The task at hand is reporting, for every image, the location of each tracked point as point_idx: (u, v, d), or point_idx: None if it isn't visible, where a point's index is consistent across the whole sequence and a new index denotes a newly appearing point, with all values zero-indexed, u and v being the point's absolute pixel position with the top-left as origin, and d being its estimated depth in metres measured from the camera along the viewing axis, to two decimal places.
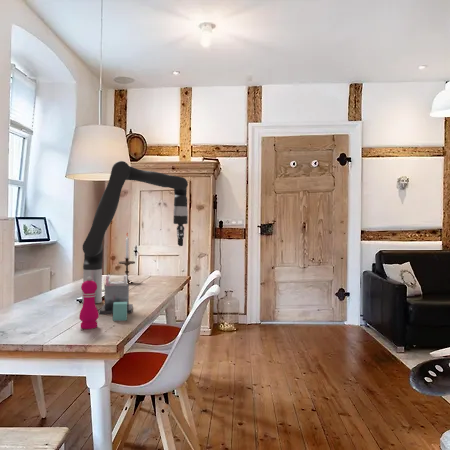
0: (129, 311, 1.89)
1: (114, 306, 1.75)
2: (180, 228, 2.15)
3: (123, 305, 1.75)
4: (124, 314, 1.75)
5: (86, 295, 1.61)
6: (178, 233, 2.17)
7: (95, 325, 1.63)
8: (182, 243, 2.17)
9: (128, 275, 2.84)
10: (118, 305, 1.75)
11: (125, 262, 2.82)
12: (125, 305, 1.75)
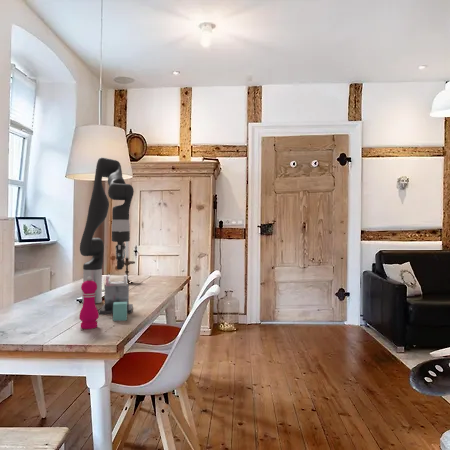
0: (129, 311, 1.89)
1: (114, 306, 1.75)
2: (118, 247, 1.70)
3: (123, 305, 1.75)
4: (124, 314, 1.75)
5: (86, 295, 1.61)
6: None
7: (95, 325, 1.63)
8: (121, 266, 1.73)
9: (128, 275, 2.84)
10: (118, 305, 1.75)
11: (125, 262, 2.82)
12: (125, 305, 1.75)
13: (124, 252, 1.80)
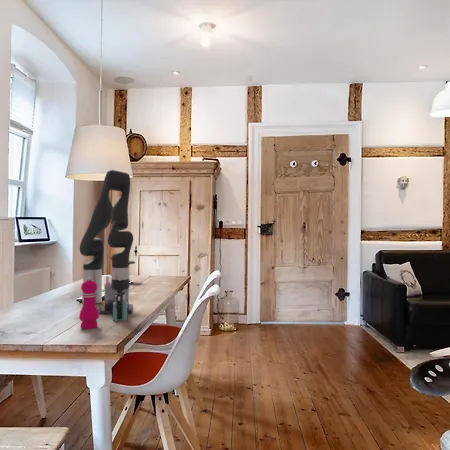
0: (129, 311, 1.89)
1: (114, 306, 1.75)
2: (118, 299, 1.71)
3: (123, 305, 1.75)
4: (124, 314, 1.75)
5: (86, 295, 1.61)
6: None
7: (95, 325, 1.63)
8: (121, 316, 1.74)
9: None
10: (118, 305, 1.75)
11: None
12: (125, 305, 1.75)
13: (124, 300, 1.79)
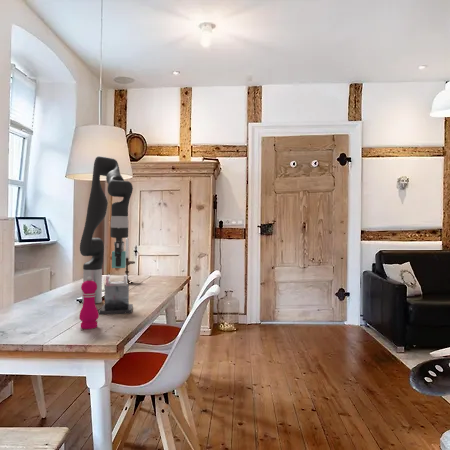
0: (129, 311, 1.89)
1: (113, 253, 1.77)
2: (116, 246, 1.74)
3: (122, 253, 1.78)
4: (123, 262, 1.78)
5: (86, 295, 1.61)
6: (115, 251, 1.77)
7: (95, 325, 1.63)
8: (120, 263, 1.77)
9: (128, 275, 2.84)
10: (117, 253, 1.78)
11: None
12: (124, 253, 1.78)
13: (122, 248, 1.82)
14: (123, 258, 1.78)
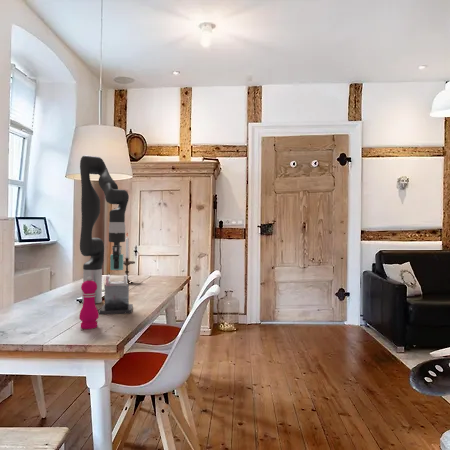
0: (129, 311, 1.89)
1: (111, 257, 1.92)
2: (114, 250, 1.88)
3: (119, 256, 1.92)
4: (120, 264, 1.92)
5: (86, 295, 1.61)
6: (113, 254, 1.91)
7: (95, 325, 1.63)
8: (118, 266, 1.92)
9: (128, 275, 2.84)
10: (115, 256, 1.92)
11: (125, 262, 2.82)
12: (121, 256, 1.93)
13: (120, 252, 1.96)
14: (121, 261, 1.92)
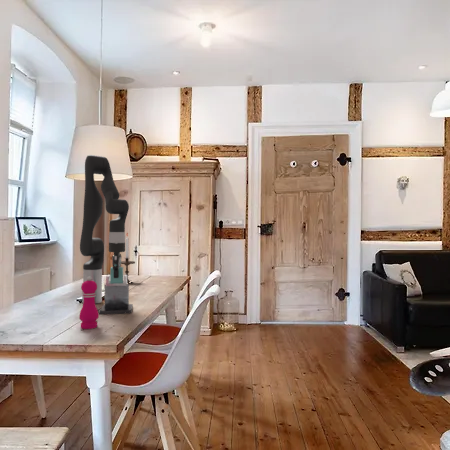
0: (129, 311, 1.89)
1: (111, 270, 1.92)
2: (114, 258, 1.88)
3: (119, 269, 1.92)
4: (120, 277, 1.93)
5: (86, 295, 1.61)
6: (113, 263, 1.91)
7: (95, 325, 1.63)
8: None
9: (128, 275, 2.84)
10: None
11: (125, 262, 2.82)
12: (121, 269, 1.93)
13: (120, 261, 1.97)
14: (121, 274, 1.93)
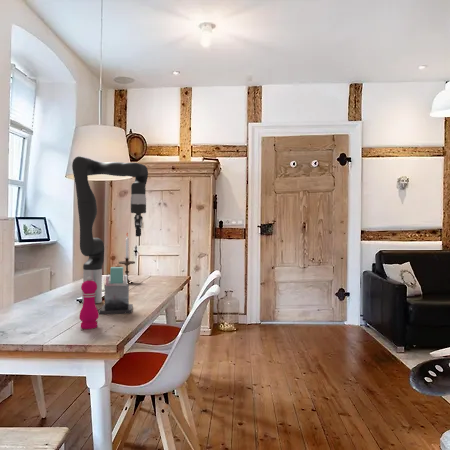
0: (129, 311, 1.89)
1: (111, 270, 1.92)
2: (136, 217, 2.00)
3: (119, 269, 1.92)
4: (120, 277, 1.93)
5: (86, 295, 1.61)
6: (135, 223, 2.02)
7: (95, 325, 1.63)
8: (139, 233, 2.02)
9: (128, 275, 2.84)
10: (115, 269, 1.92)
11: (125, 262, 2.82)
12: (121, 269, 1.93)
13: None
14: (121, 274, 1.93)
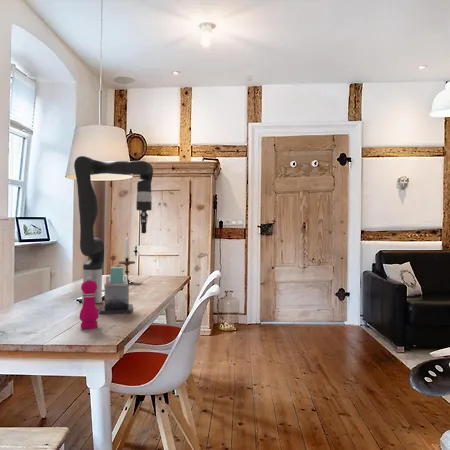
0: (129, 311, 1.89)
1: (111, 270, 1.92)
2: (142, 214, 2.03)
3: (119, 269, 1.92)
4: (120, 277, 1.93)
5: (86, 295, 1.61)
6: (141, 220, 2.06)
7: (95, 325, 1.63)
8: (145, 230, 2.06)
9: (128, 275, 2.84)
10: (115, 269, 1.92)
11: (125, 262, 2.82)
12: (121, 269, 1.93)
13: None
14: (121, 274, 1.93)
